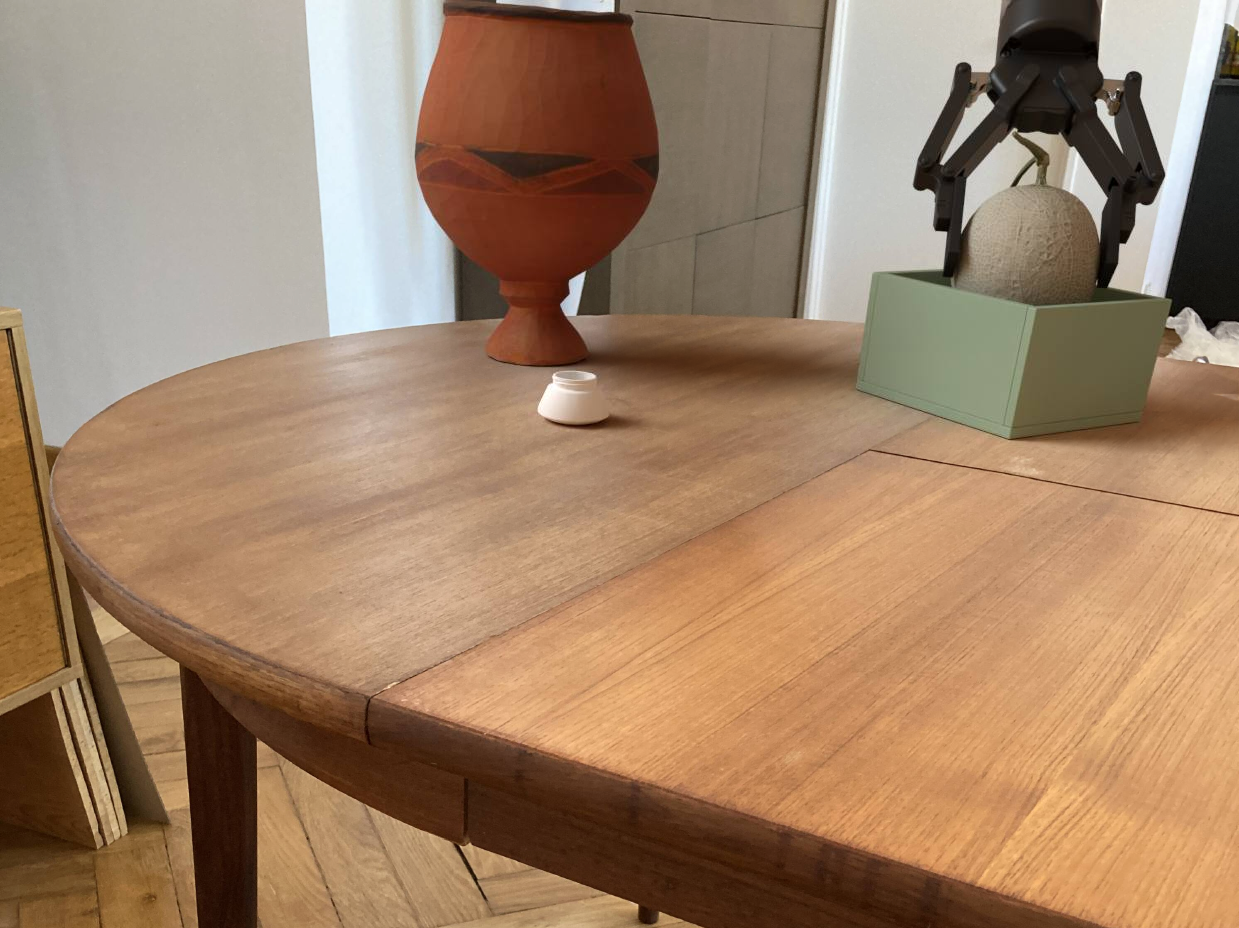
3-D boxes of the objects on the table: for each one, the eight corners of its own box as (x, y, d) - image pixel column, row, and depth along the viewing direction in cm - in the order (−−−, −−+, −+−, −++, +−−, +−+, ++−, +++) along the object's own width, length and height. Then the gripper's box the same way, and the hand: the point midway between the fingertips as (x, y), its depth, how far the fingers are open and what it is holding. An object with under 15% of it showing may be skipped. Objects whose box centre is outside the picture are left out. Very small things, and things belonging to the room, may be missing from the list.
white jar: (577, 407, 91) (523, 415, 88) (578, 365, 90) (524, 372, 87) (623, 421, 88) (569, 431, 85) (625, 378, 87) (570, 386, 84)
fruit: (1044, 338, 102) (1089, 129, 94) (1100, 369, 92) (1155, 138, 84) (919, 334, 101) (954, 122, 93) (962, 364, 91) (1005, 130, 84)
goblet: (395, 370, 99) (379, -8, 86) (450, 327, 115) (444, 4, 102) (635, 388, 98) (656, 6, 84) (656, 342, 114) (676, 16, 101)
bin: (1140, 421, 97) (1172, 299, 92) (1009, 439, 90) (1036, 308, 85) (982, 376, 108) (1003, 266, 104) (855, 389, 101) (872, 271, 97)
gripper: (1187, 70, 98) (1173, 315, 93) (892, 56, 101) (864, 292, 96) (1223, -15, 91) (1211, 245, 86) (905, -28, 94) (875, 223, 89)
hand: (1028, 270), depth 91 cm, fingers closed on fruit, 10 cm apart
